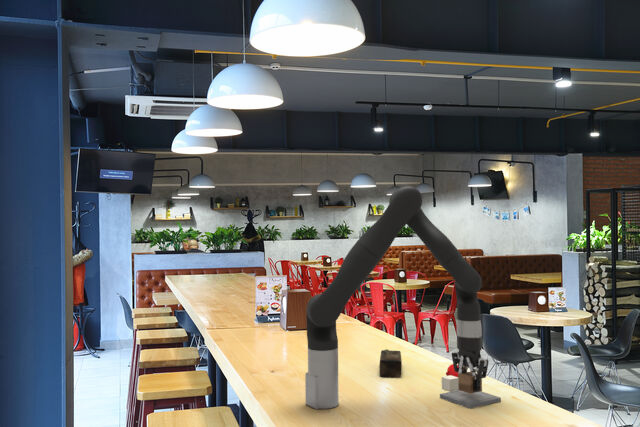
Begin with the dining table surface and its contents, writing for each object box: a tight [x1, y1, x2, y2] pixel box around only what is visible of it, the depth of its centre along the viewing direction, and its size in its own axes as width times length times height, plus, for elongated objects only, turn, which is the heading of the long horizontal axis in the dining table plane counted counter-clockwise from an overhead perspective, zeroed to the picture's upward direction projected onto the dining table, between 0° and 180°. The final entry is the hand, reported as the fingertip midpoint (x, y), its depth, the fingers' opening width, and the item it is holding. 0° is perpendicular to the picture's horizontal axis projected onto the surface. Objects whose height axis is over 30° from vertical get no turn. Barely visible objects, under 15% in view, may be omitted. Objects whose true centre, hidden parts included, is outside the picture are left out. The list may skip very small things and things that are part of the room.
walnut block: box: [458, 371, 483, 394], centre depth 187 cm, size 5×5×5 cm
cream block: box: [441, 375, 459, 392], centre depth 199 cm, size 4×4×4 cm
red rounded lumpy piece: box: [445, 363, 458, 377], centre depth 207 cm, size 8×6×6 cm
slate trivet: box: [439, 390, 502, 409], centre depth 187 cm, size 13×13×1 cm
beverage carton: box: [379, 348, 403, 379], centre depth 224 cm, size 8×19×7 cm, turn 173°
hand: (470, 388), depth 187 cm, fingers closed on walnut block, 5 cm apart
